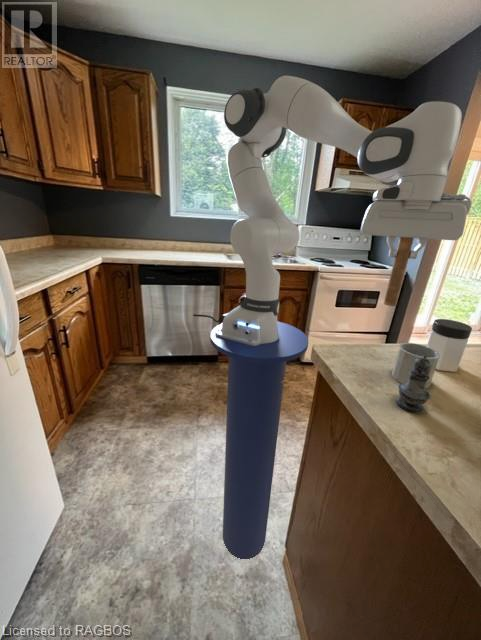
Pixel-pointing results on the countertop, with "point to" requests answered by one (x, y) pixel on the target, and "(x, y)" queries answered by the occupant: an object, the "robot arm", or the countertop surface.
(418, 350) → the tin
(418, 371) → the grey stone figurine
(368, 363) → the countertop surface
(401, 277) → the stick
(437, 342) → the jar
